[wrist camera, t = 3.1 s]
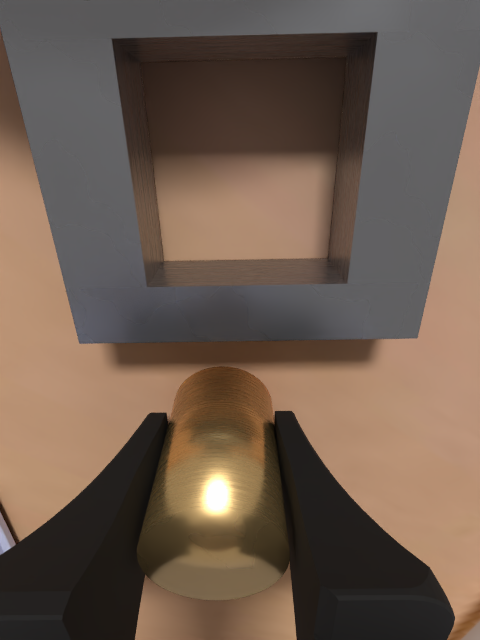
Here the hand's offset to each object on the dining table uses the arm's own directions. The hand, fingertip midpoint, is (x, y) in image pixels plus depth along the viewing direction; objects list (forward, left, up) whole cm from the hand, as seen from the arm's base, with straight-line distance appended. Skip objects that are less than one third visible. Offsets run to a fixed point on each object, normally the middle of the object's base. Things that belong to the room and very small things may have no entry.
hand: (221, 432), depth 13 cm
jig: (+9, -1, -1) cm, 9 cm away
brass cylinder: (0, 0, -1) cm, 1 cm away
